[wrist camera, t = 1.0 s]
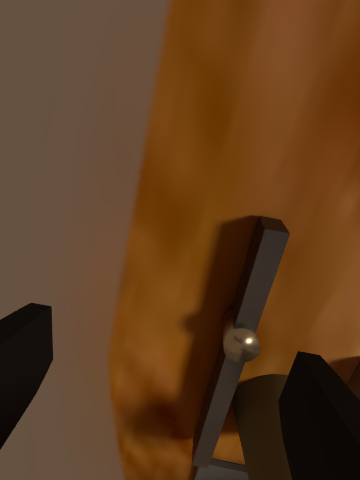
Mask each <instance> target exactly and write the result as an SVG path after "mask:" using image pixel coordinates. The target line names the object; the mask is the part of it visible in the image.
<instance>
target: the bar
mask: <svg viewBox="0 0 360 480" xmlns="http://www.w3.org/2000/svg"><path fill="white" fill-rule="evenodd" d="M289 235H290V233H289V232H288V230H287V228H286V227H285V225H284V224H283V222H282V221H281V220H279V219H274V218H269V217H264V216H259V218H258V221H257V224H256V228H255V231H254V235H253V238H252V241H251V245H250V248H249V251H248V255H247V258H246V262H245V265H244V268H243V272H242V275H241V279H240V282H239V285H238V289H237V292H236V295H235V299H234V302H233V306H232V308H231V309H229V310H227V311H226V312H225V313H224V315H223V317H222V328H223V339H222V343H221V346H220V349H219V353H218V356H217V360H216V363H215V366H214V370H213V373H212V376H211V380H210V383H209V387H208V390H207V393H206V397H205V400H204V404H203V407H202V410H201V414H200V417H199V420H198V424H197V427H196V431H195V434H194V437H193V451H192V466H197V467H201V468H206V469H208V467H209V464H210V461H211V458H212V455H213V452H214V450H215V447H216V444H217V441H218V438H219V435H220V432H221V429H222V427H223V424H224V421H225V418H226V415H227V412H228V409H229V407H230V404H231V401H232V398H233V395H234V392H235V389H236V386H237V384H238V381H239V378H240V375H241V372H242V369H243V366H244V364H245V362H248V361H251V360H253V359H254V358H256V357H257V355H258V354H259V352H260V345H259V340H258V335H257V331H256V329H257V326H258V323H259V321H260V318H261V315H262V312H263V309H264V306H265V303H266V300H267V298H268V295H269V292H270V289H271V286H272V283H273V280H274V278H275V275H276V272H277V269H278V266H279V263H280V260H281V257H282V255H283V252H284V249H285V246H286V243H287V240H288V237H289Z"/></svg>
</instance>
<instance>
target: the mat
mask: <svg viewBox="0 0 360 480" xmlns="http://www.w3.org/2000/svg"><path fill="white" fill-rule="evenodd" d="M193 480H249V477H248V473H247V468H246V466H243V465H239V464H234V463H229V462H224V461H220V460H215V459H211V461H210V464H209V467H208V469H206V468H201V467H197V469H196V472H195V475H194V478H193Z"/></svg>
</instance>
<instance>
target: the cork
mask: <svg viewBox="0 0 360 480" xmlns="http://www.w3.org/2000/svg"><path fill="white" fill-rule="evenodd" d="M287 378H288V376H287V375H275V374H271V375H265V376H259V377H257V378H254V379H252V380H250V381H247V382H246V383H245V384H244V385H242V386H241V387H240V388H239V389H238V391H237V392H236V394H235V396H234V399H233V409H234V414H235V418H236V423H237V427H238V432H239V436H240V441H241V445H242V450H243V455H244V459H245V464H246V468H247V473H248V477H249V480H292V477H291V473H290V469H289V464H288V460H287V456H286V452H285V447H284V443H283V437H282V430H281V423H280V414H279V405H278V400H279V398H280V395H281V393H282V390H283V388H284V385H285V383H286V380H287Z"/></svg>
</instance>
